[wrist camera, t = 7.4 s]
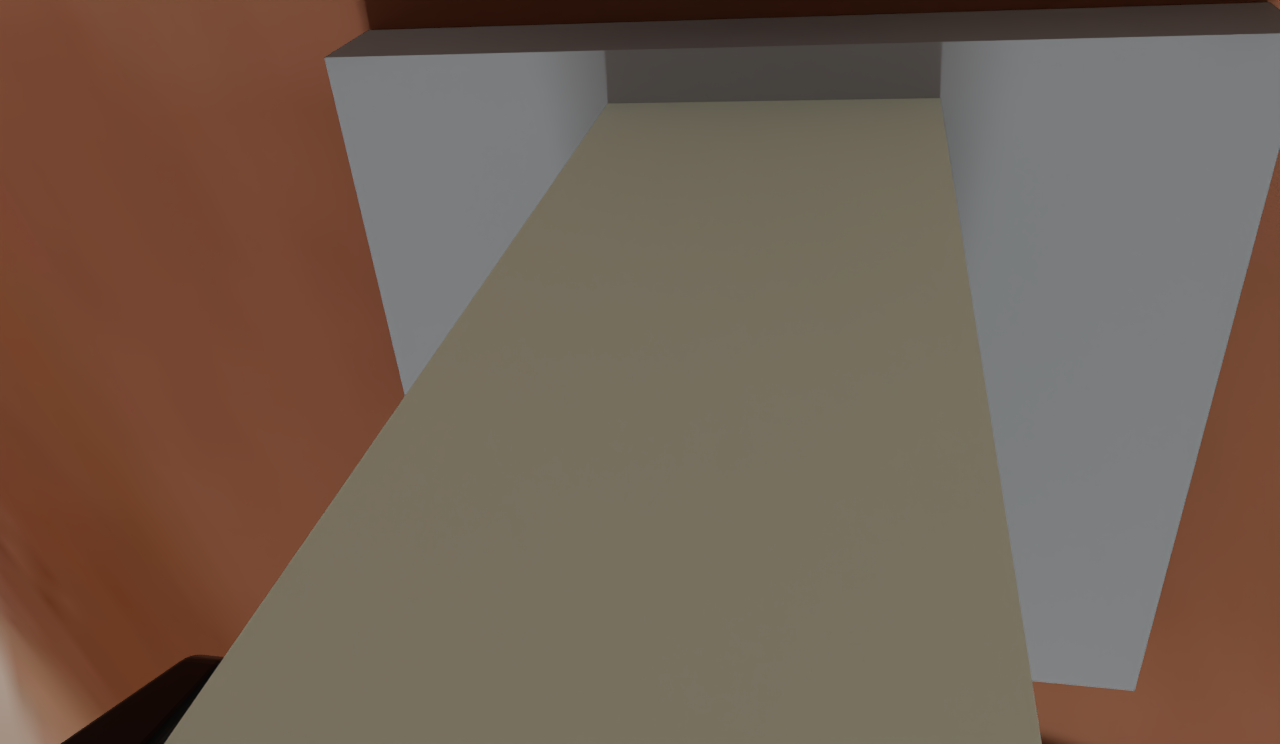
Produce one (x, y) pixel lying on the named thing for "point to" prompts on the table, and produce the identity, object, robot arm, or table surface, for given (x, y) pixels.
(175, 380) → the table surface
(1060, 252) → the mat
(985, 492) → the pale green block
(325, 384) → the table surface
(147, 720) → the robot arm
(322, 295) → the table surface
